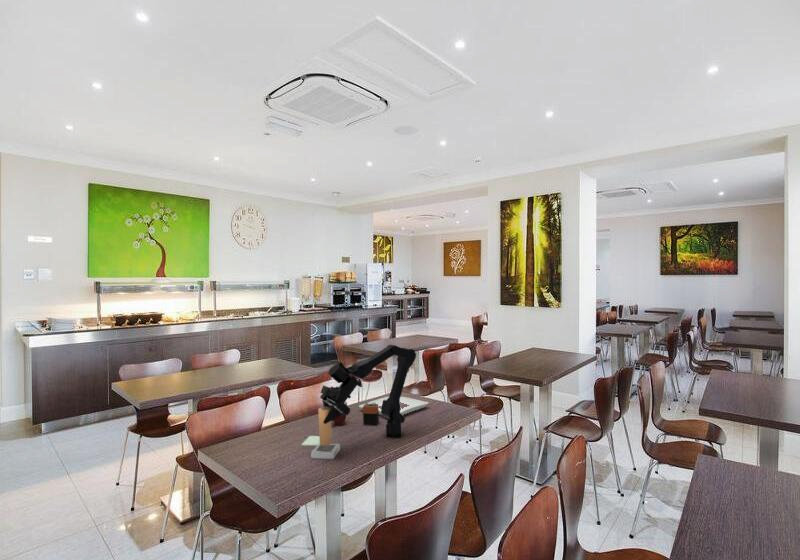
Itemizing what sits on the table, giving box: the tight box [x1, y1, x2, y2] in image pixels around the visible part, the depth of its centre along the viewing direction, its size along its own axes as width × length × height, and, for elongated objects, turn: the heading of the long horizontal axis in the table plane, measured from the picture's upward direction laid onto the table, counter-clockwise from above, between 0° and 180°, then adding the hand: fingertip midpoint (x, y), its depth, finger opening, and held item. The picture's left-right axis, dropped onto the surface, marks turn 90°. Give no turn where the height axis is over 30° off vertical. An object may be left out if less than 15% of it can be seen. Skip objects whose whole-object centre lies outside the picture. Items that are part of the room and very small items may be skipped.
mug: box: [331, 401, 348, 426], centre depth 208 cm, size 11×8×10 cm
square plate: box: [358, 396, 429, 416], centre depth 229 cm, size 27×27×4 cm
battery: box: [362, 402, 380, 426], centre depth 208 cm, size 4×7×10 cm, turn 77°
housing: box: [310, 443, 341, 460], centre depth 173 cm, size 9×9×2 cm
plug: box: [317, 405, 333, 446], centre depth 173 cm, size 5×5×15 cm
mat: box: [301, 435, 320, 447], centre depth 187 cm, size 10×10×1 cm
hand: (321, 421), depth 173 cm, fingers closed on plug, 5 cm apart
